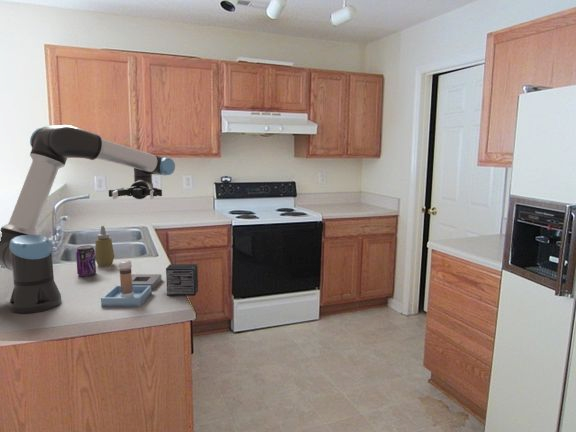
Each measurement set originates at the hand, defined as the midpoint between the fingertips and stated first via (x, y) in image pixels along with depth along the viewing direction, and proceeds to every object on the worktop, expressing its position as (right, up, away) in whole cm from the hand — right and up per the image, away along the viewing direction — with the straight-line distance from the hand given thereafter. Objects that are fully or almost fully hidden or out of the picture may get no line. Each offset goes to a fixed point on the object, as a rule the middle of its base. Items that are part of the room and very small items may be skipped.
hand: (132, 195), depth 161 cm
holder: (+2, -35, +4) cm, 35 cm away
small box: (+20, -37, -4) cm, 42 cm away
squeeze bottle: (-23, -30, +30) cm, 49 cm away
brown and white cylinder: (+2, -37, -12) cm, 39 cm away
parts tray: (+2, -37, -12) cm, 39 cm away
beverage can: (-25, -33, +16) cm, 44 cm away
